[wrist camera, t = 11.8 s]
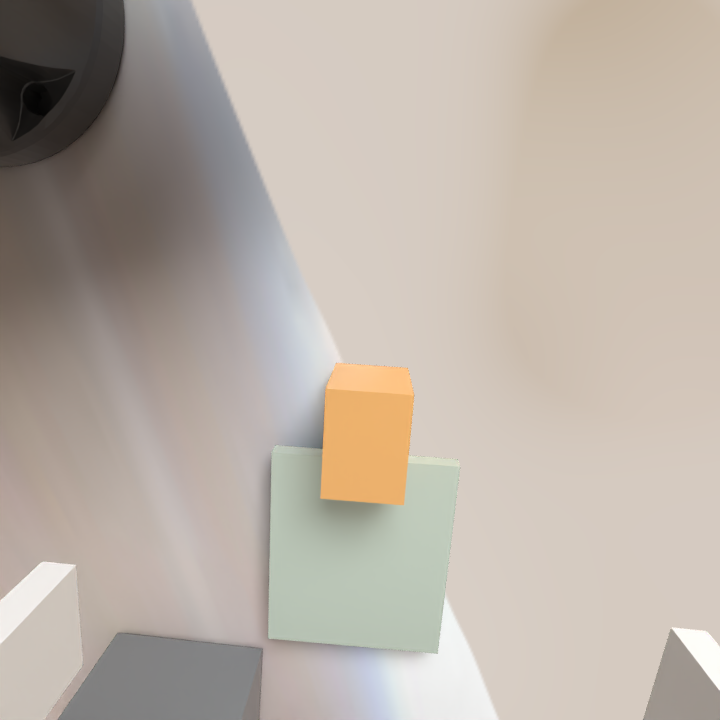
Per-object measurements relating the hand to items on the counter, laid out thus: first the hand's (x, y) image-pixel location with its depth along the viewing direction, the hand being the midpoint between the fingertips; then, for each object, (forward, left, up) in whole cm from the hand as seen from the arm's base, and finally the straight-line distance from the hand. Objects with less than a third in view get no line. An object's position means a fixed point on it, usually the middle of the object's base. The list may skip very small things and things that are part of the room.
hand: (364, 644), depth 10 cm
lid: (+6, 0, -17) cm, 18 cm away
